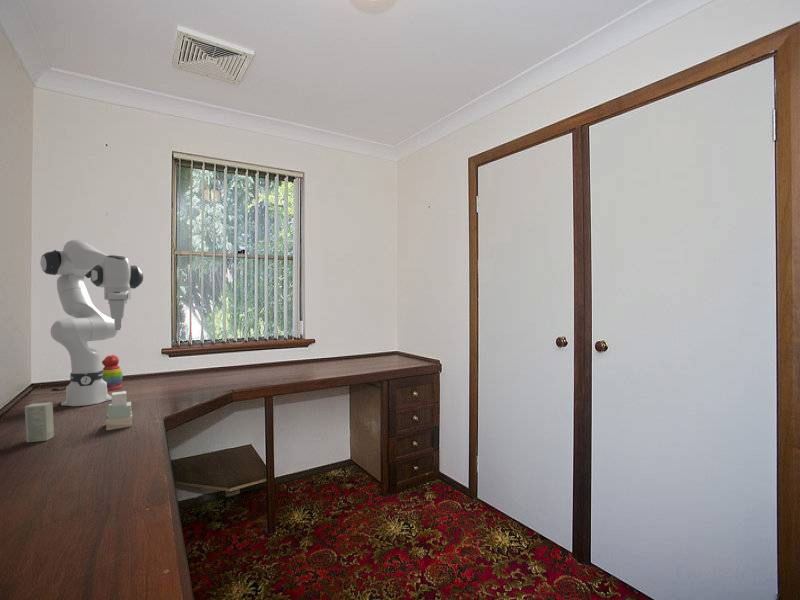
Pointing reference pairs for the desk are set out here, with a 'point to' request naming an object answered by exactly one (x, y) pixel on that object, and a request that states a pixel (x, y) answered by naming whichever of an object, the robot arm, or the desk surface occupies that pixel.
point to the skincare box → (39, 422)
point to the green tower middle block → (119, 411)
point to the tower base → (118, 422)
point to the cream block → (119, 399)
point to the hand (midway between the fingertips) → (118, 329)
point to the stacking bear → (112, 373)
